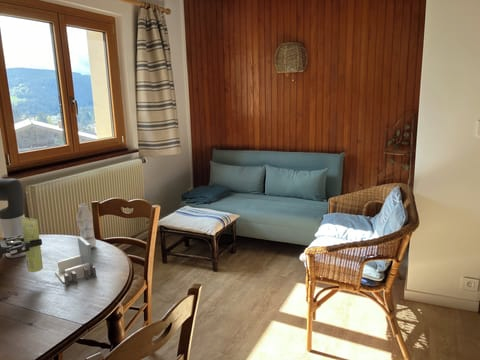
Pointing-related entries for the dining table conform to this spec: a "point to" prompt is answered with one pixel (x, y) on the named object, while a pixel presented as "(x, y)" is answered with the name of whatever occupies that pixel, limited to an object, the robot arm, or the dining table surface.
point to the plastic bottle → (86, 224)
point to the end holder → (76, 262)
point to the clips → (74, 278)
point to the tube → (35, 252)
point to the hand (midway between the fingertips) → (39, 239)
